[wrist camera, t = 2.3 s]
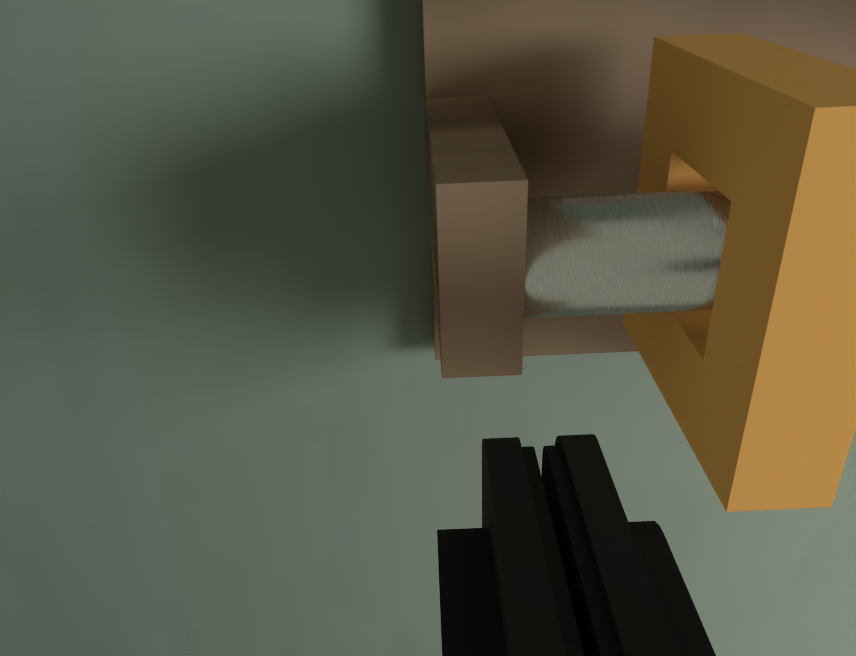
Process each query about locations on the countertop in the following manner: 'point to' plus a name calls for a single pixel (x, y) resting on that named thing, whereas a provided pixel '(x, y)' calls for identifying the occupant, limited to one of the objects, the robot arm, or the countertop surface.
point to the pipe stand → (570, 169)
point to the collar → (759, 264)
